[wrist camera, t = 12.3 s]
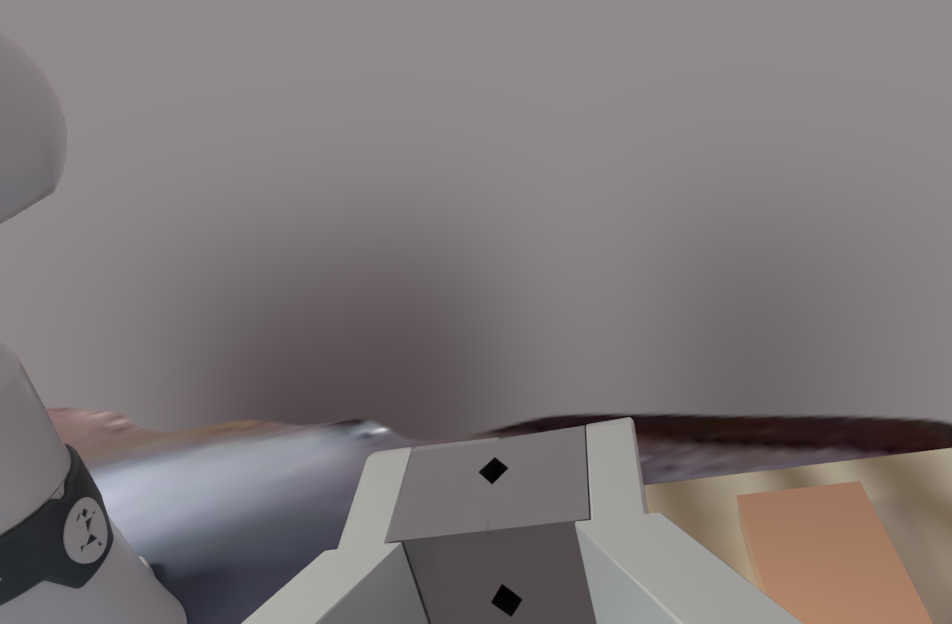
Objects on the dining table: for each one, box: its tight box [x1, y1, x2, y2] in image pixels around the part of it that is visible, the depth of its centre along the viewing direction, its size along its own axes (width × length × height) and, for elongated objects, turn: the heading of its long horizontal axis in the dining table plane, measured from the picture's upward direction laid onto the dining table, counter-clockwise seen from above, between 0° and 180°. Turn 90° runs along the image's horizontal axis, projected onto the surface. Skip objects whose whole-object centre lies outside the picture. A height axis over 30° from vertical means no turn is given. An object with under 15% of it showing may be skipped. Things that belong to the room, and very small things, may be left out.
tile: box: [737, 481, 933, 624], centre depth 44 cm, size 7×3×14 cm
